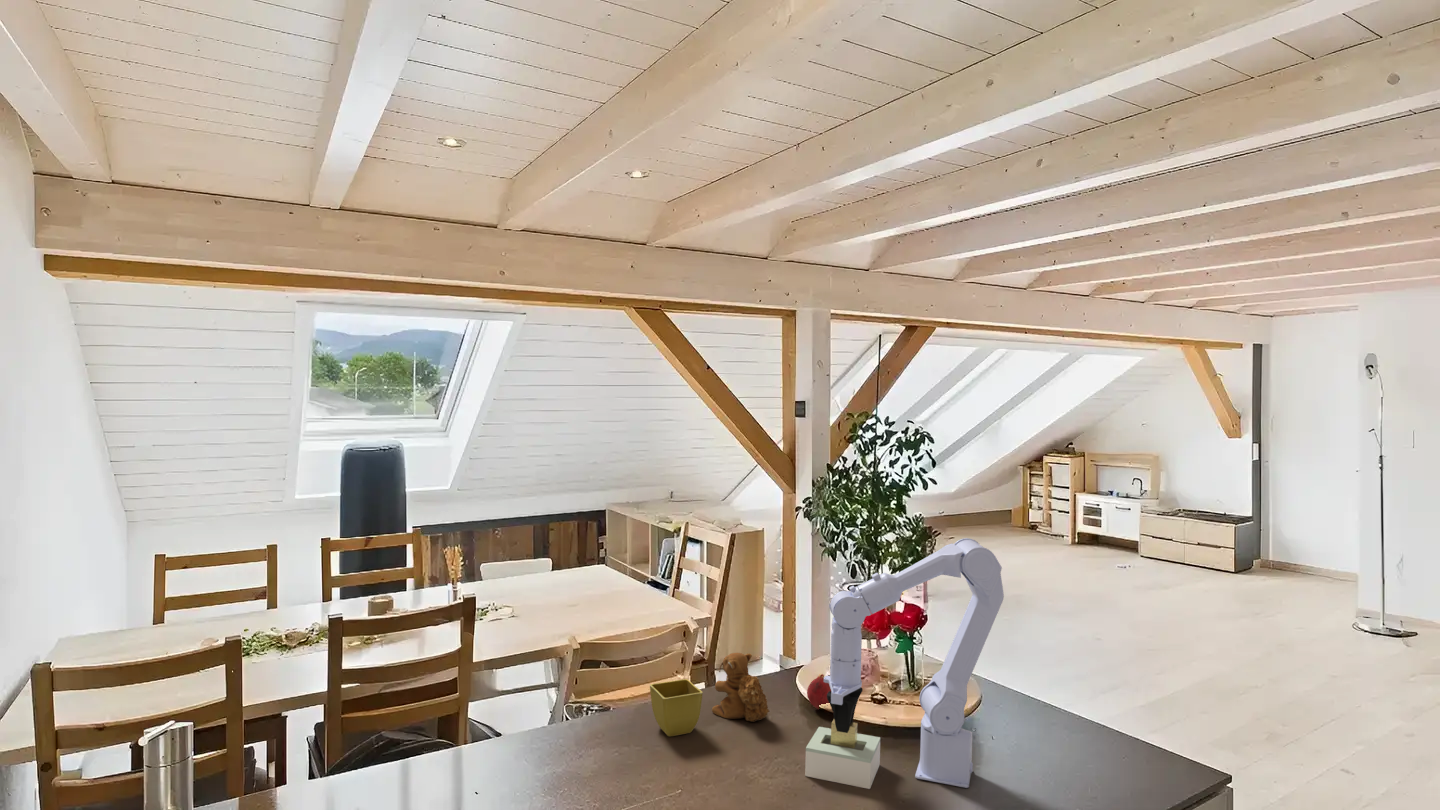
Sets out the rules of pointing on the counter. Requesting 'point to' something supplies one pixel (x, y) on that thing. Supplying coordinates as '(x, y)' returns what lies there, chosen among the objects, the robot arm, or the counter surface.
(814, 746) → the box
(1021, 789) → the counter surface
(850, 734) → the tan rectangular block
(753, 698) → the stuffed squirrel
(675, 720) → the flower pot
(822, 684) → the onion
